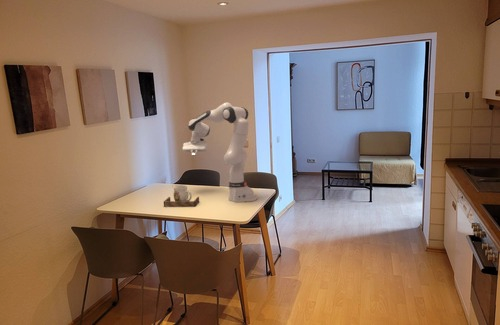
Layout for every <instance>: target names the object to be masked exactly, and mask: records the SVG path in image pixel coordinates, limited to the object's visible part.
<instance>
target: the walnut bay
mask: <svg viewBox="0 0 500 325" xmlns="http://www.w3.org/2000/svg"><path fill="white" fill-rule="evenodd" d="M199 203H200V197H199V196H197V197H196V198H195V199H194V200H190V201H175V200H173V201H172V200H171V196H168V197H167V198H166V199H164V200H163V208H183V207H184V208H187V207H188V208H189V207H190V208H193V207H194V208H195V207H196V206H197V205H198V204H199Z"/></svg>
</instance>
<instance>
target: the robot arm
mask: <svg viewBox="0 0 500 325" xmlns="http://www.w3.org/2000/svg"><path fill="white" fill-rule="evenodd" d="M248 117H249V111H248V109H247V108H245V107H240V106H234V105H232V103H230V102H224V103H222V104H220V105H219V106H218V107H216V108H215V109H211V110H206V111H204V112H203V113H202V114H200V115H198V116H196V117H194V118H191V119H190V120H189V122H188V123H187V126H188V129H189V130H190V131H191V138H190V141H185V142H184V143H183V144H182V152H183V153H191V156H192V157H196V156H197V154H198V153H202V152H203V153H206V152H208V144H207V140H206V139H205V137H208V136H209V134H210V132H211V128H210V126H209V125H208V124H206V123H204V122H205V121H210V122H215V123H222V122H224V121H227V122H228V123H230V124H233V132H232V136H231V140H230V143H229V146H228V148H227V150H226V153H225V154H224V155H223V163H224V164H225V165H226V166H230V169H229V171H228V172H229V173H228V175H229V176H228V177H229V181H228V188H229V192H228V194H229V195H228V201H231V202H234V203H239V202H240V203H241V202H242V203H243V202H245V201H247V202H255V201H257V200H258V196H257V195H255V193H254V192H255V191H254V190H253V189H252V188H251V187H249V186H248V185H247V181H245V180H244V179H245V178H244V176H245V175H244V170H245V163H246V159H247V158H248V152H247V151H246V150H245V149H244V147H245V146H246V143H247V139H248V133H249V121H248V120H247V119H248ZM245 203H246V202H245Z"/></svg>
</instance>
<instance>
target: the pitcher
mask: <svg viewBox="0 0 500 325" xmlns="http://www.w3.org/2000/svg"><path fill="white" fill-rule="evenodd" d="M171 186H172V188H173V190H174V191H173V201H192V192H191V191H190V190H188V186H187V185H183V184H182V185H181V184H178V185H177V184H175V185H174V184H173V185H171Z"/></svg>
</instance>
